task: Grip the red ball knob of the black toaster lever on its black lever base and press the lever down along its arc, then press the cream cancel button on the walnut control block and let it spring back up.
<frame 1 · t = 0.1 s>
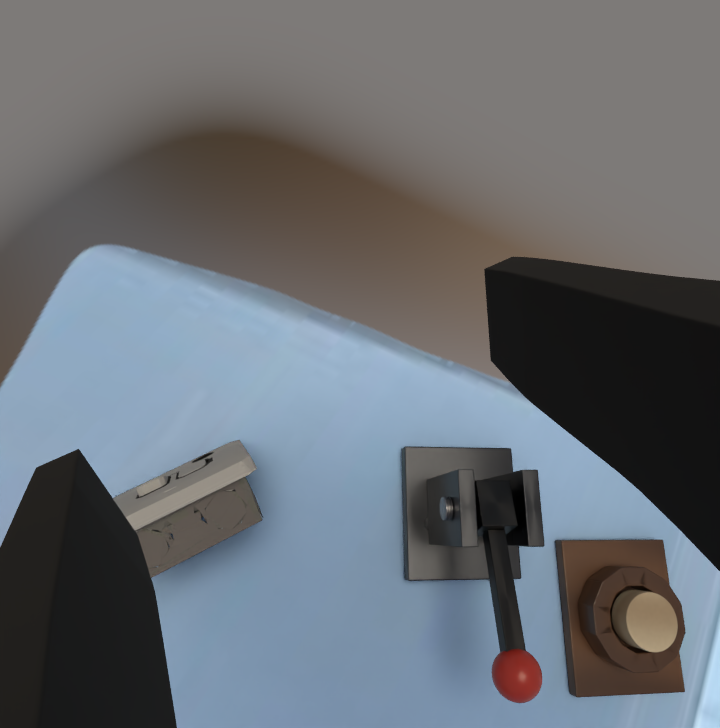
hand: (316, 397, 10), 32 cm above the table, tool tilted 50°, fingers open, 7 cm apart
control block: (614, 612, 41), on the table
cancel button: (643, 619, 38), point 3 cm above the table, slide at 0.1 cm
electrical switch: (195, 503, 39), on the table
toaster lever: (502, 584, 33), point 8 cm above the table, hinge at 15.0°
black lever base: (456, 512, 42), on the table
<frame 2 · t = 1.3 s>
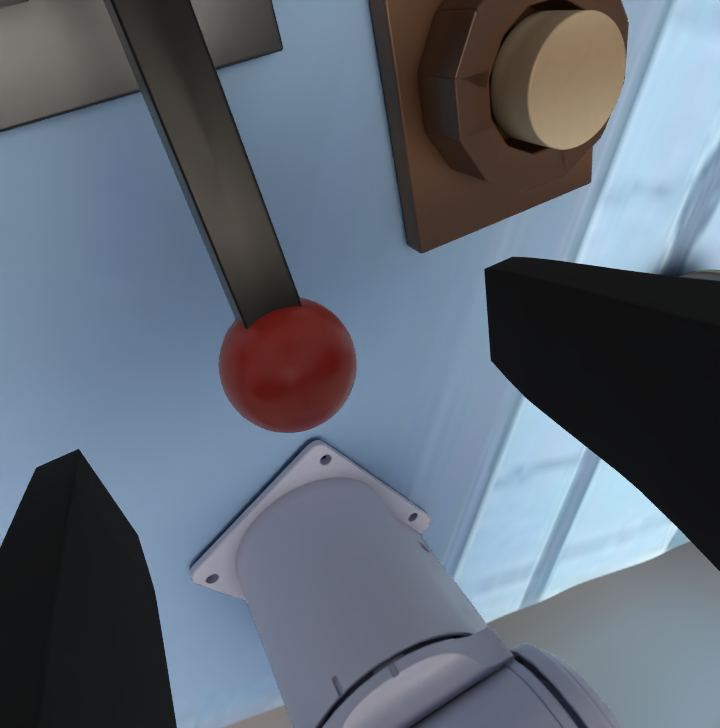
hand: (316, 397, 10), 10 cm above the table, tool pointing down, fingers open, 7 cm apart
vase: (656, 313, 31), on the table
control block: (486, 72, 20), on the table
cancel button: (557, 81, 17), point 3 cm above the table, slide at 0.1 cm
toaster lever: (191, 118, 9), point 8 cm above the table, hinge at 15.0°
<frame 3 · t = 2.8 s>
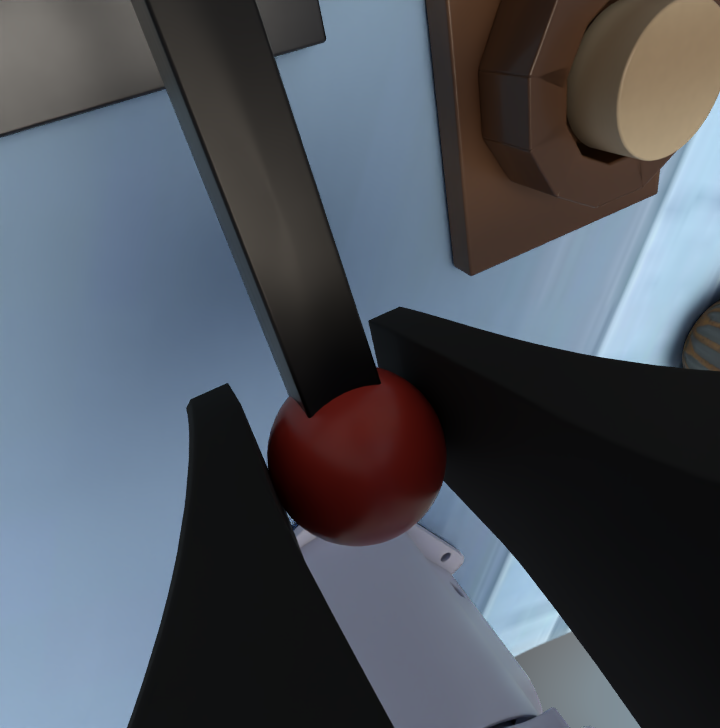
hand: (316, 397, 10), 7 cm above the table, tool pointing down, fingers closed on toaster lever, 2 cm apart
vase: (707, 332, 28), on the table
control block: (549, 69, 17), on the table
cancel button: (645, 79, 14), point 3 cm above the table, slide at 0.1 cm
toaster lever: (240, 134, 7), point 8 cm above the table, hinge at 15.0°, touching gripper
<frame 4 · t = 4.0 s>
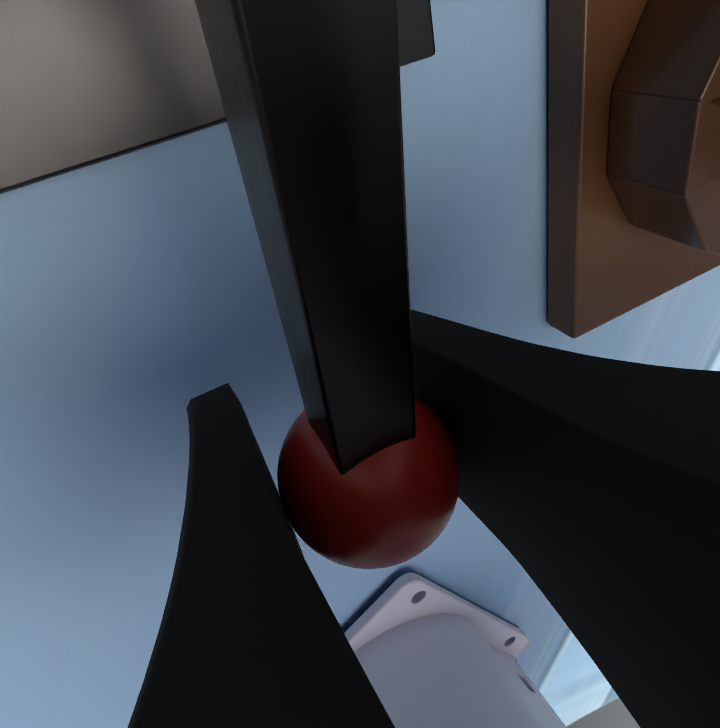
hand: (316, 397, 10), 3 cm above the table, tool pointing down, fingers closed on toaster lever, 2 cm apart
control block: (679, 85, 14), on the table
toaster lever: (322, 190, 5), point 6 cm above the table, hinge at -11.8°, touching gripper
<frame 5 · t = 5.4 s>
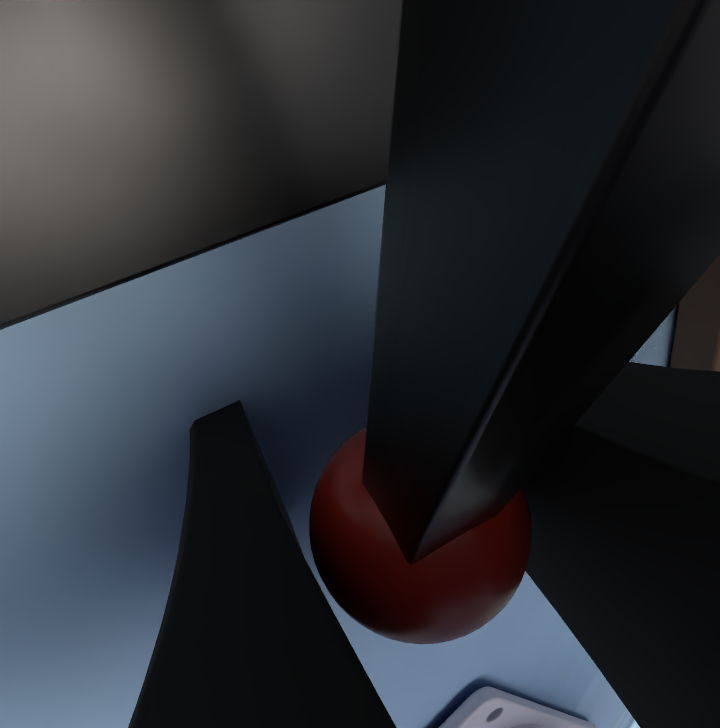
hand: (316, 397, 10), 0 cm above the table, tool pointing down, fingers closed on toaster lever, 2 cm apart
toaster lever: (517, 291, 3), point 4 cm above the table, hinge at -26.7°, touching gripper
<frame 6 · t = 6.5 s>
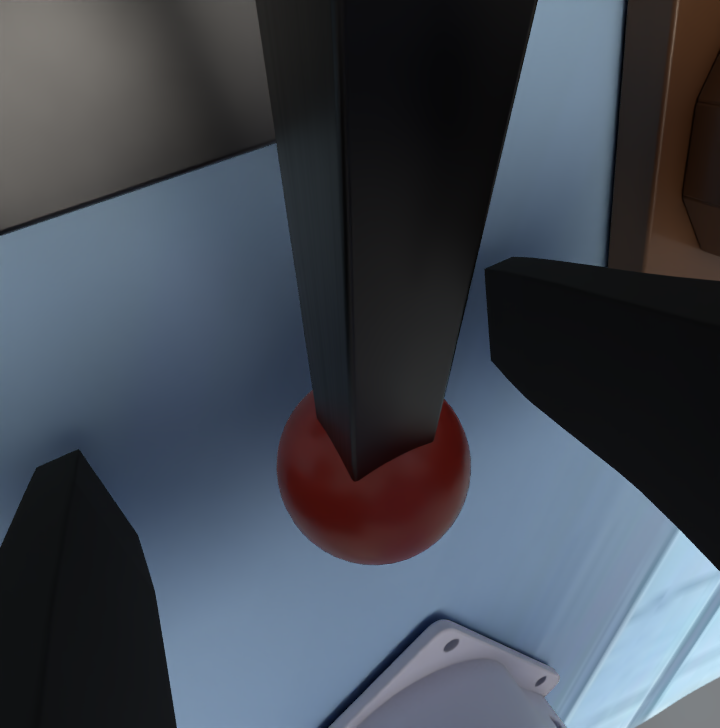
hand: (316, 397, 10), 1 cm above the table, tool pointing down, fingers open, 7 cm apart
toaster lever: (382, 201, 4), point 5 cm above the table, hinge at -22.3°
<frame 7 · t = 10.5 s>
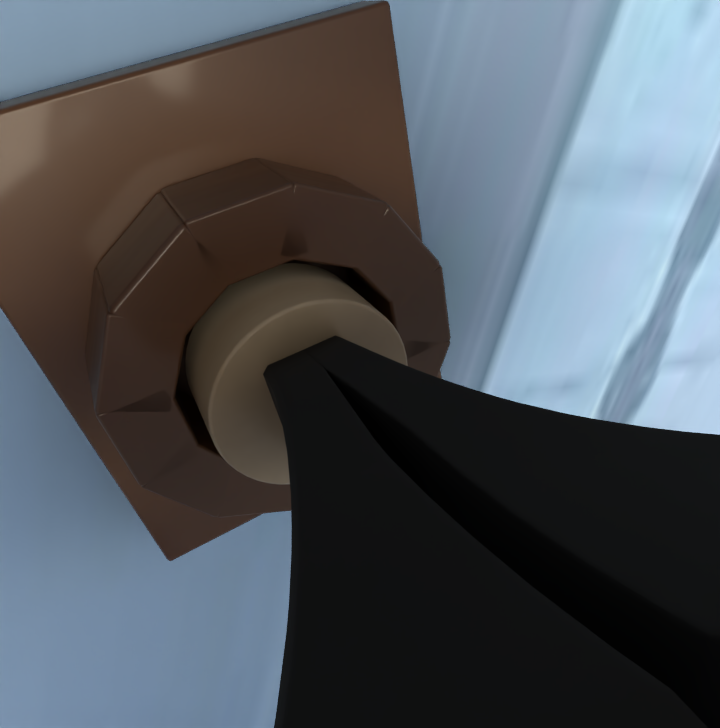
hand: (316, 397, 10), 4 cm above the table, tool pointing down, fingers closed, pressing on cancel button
control block: (247, 307, 13), on the table
cancel button: (297, 374, 10), point 3 cm above the table, slide at -0.3 cm, touching gripper
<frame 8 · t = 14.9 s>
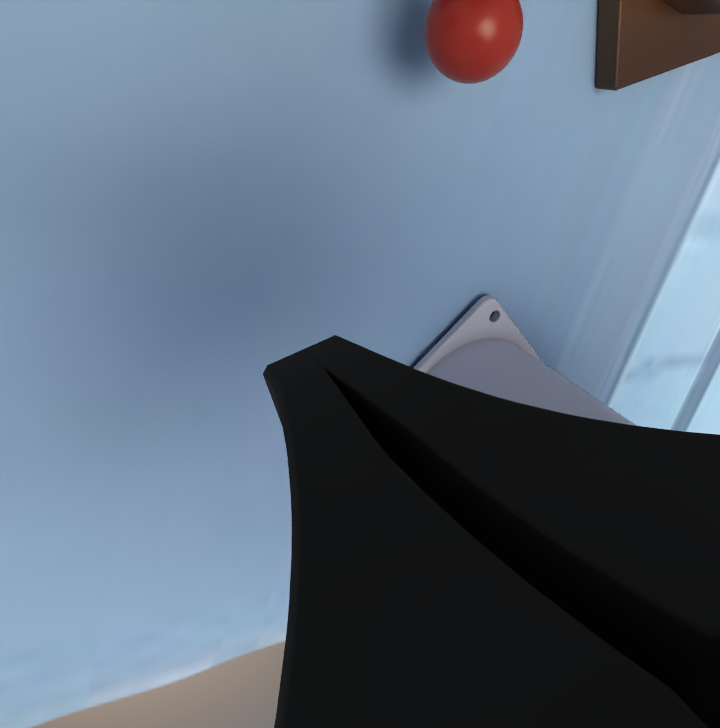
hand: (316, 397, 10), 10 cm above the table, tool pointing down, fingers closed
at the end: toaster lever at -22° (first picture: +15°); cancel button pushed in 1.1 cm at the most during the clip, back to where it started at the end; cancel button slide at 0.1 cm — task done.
